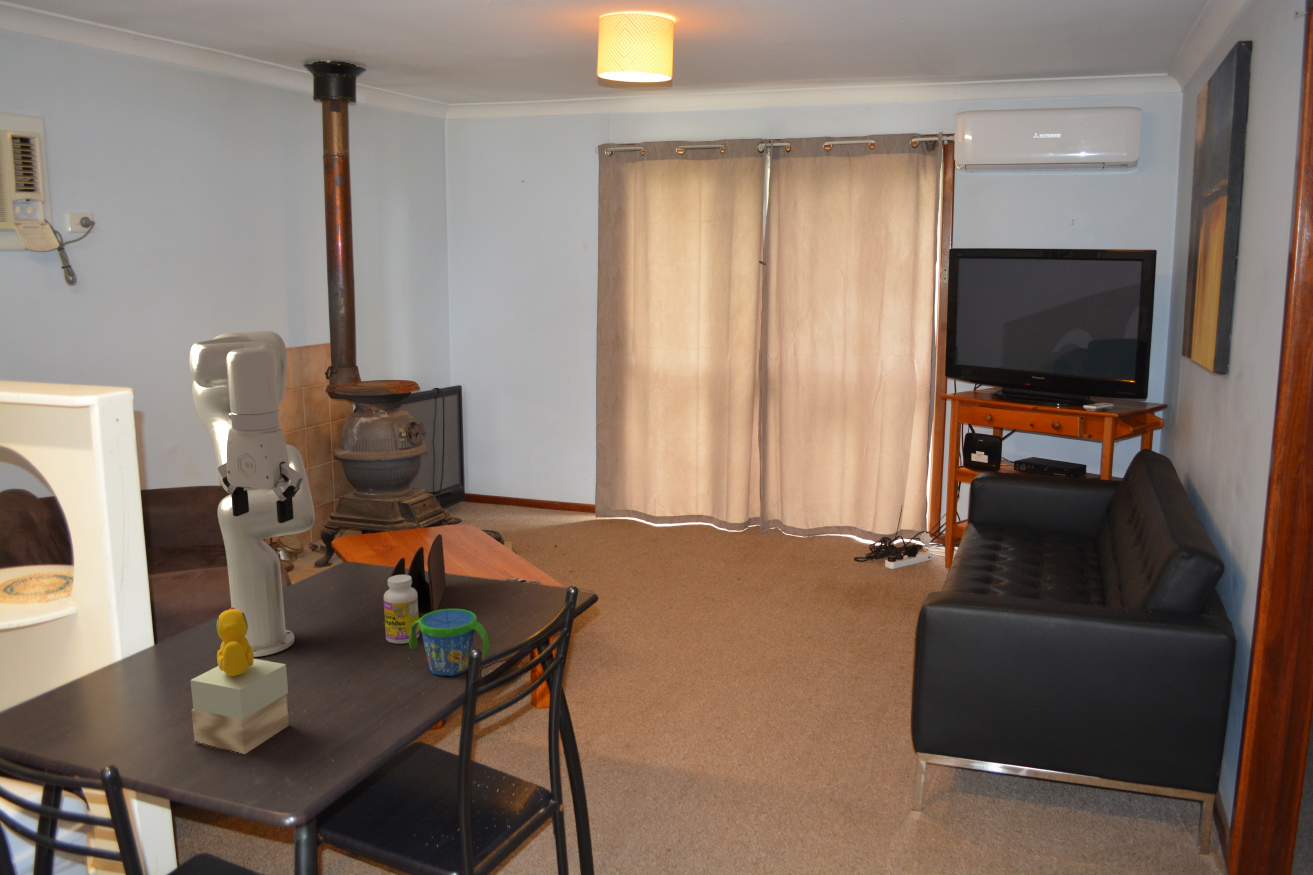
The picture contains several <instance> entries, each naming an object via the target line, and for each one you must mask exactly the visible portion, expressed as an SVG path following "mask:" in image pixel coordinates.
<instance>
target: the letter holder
mask: <svg viewBox="0 0 1313 875" xmlns="http://www.w3.org/2000/svg"><path fill="white" fill-rule="evenodd" d="M424 551H425V550H424V547H423V546H420V547H419V548H418V549H417V551H415V554H414V555H413V557H412V559H411V562H410V565H409V567H408V570H407V575H409V576H411V578H412V584H411V587H412V588H414V589H415V590H416V591H417V596H418V616H419V619H420V618H421V617H422V616H424V615H425V614H427V613H430V612H433V611H437V610H438V608H439V605H440V603H441V601H442V599H443V598H442V597H443V595H444V592H445V590H446V588H447V582H446V580H447V579H446V569H445V568H446V566H445V556H444V555H445V554H444V546H443V536H442V534H440V533H439V534H437V535H436V536H435V538H434V540H433V541H432V544H431V546H430V549H429V553H428V556H427V560H426V565H427V574H428V575H427V577H428V581H427V580H426V572H425V571H426V569H425V568H426V567H425V556H424V555H425V552H424ZM395 575H406V558H405V557H401V558H400V559H399V560H398V561H397V563H396V565H395V566H394V567H393V570H392V572H391V574H390V576H389V578H390V577H392V576H395ZM386 588H387V590H389V586H388V585H387V586H386ZM387 590H386V591H387Z"/></svg>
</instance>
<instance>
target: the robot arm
mask: <svg viewBox="0 0 1313 875" xmlns="http://www.w3.org/2000/svg"><path fill="white" fill-rule="evenodd" d="M188 361H189V370H190V373H191V376H192V378H193V382H192V386H191V387H192V388H191V391H192V400H193V404H194V406H195V410H196V413H197V416H198V417H199V420H200V422H201V423H202V425H203V427H204V428H205V430H206V432H207V433H208V434H209V436H210V437H211V440H212V442H213V448H214V453H215V460H216V465H217V470H218V471H217V472H218V477H219V481H220V484H221V486H222V488H223V489H224V491H226V493H228V495H226V496H225V497H224V498H222V499H221V500H220V501H219V504H218V505H217V512H216V513H217V520H218V525H219V528H220V531H221V535H222V540H223V544H224V549H225V556H226V564H227V574H228V583H229V584H228V585H229V596H230V603H231V604H230V605H231V606H230V608H231V607H234V608H235V609H238V610H240V611H242V612H243V613H244V614H245V616H246V618H247V622H248V630H247V633H246V635H245V637H246V638H247V640H248V642H249V645H250V646H251V647H252V650H253V655H254V658H259V657H264V656H269V655H274V654H278V653H279V652H282V651H284V650H286V649H288V648H289V647H291V646H292V645H293V644H295V643H294V642H295V634H294V633H293V631H291V630H290V629H289V630H288V629H286V620H285V608H284V595H283V584H282V583H283V582H282V571H281V561H280V558H279V555H278V553H277V552H276V551H275V550H274V549H273V548H272V547H271V546H270V545H269V544H268V543H266V541H265V539H270V538H274V537H275V538H276V537H283V536H291V535H295V534H301V533H306V532H307V531H309V530H310V529H311V528H312V527H313V526H314V523H315V519H316V517H315V515H316V514H315V506H314V502H313V496H312V493H311V488H310V484H309V480H308V475H307V471H306V467H305V463H304V461H303V457H302V455H301V452H300V451H299V450H298V448H296V447H295V446H294V445H291V444H287V443H286V439H285V436H284V434H285V433H284V431H283V429H282V428H281V425H280V424H281V423H280V412H279V411H280V410H279V404H281V403H282V402H283V400H284V398H285V393H286V385H287V384H286V383H287V382H286V381H287V369H288V352H287V346H286V343H285V341H284V340H283V338H282V337H281V335H279V334H278V333H277V332H275V331H271V330H270V331H269V330H264V331H263V330H262V331H261V330H260V331H240V332H237V331H236V332H225V333H221V334H219V335H216V336H215V337H214V338H212V339H208V340H204V341H198V342H195V343H193V345H192V346H191V348H190V352H189V360H188Z"/></svg>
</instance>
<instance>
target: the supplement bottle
mask: <svg viewBox="0 0 1313 875" xmlns="http://www.w3.org/2000/svg"><path fill="white" fill-rule="evenodd" d="M411 584H412V578H411V576H409V575H408V574H405V575H395V576H392V577H390V576H389V577H388V578H387V586H389V590H386V591H385V593H384V594H383V608H384V611H383V613H384V630H385V631H384V632H385V639H386V641H387V642H388V643H391V644H395V645H397V644H398V645H401V644H402V645H405V644H409V633H410V629H411V626H412V625H413V623H414V622H416V621H417V620H418V619H420V618H419V616H418V596H417V591H416V590H415V589H414V588H412V587H411ZM415 633H416V636H417V639H419V637H420V627H419V624H417V627H416V632H415Z"/></svg>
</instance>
